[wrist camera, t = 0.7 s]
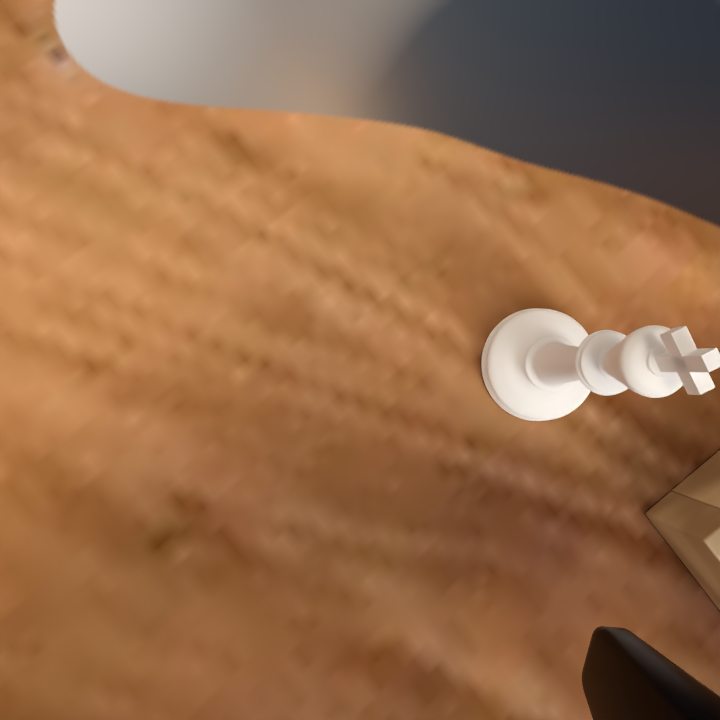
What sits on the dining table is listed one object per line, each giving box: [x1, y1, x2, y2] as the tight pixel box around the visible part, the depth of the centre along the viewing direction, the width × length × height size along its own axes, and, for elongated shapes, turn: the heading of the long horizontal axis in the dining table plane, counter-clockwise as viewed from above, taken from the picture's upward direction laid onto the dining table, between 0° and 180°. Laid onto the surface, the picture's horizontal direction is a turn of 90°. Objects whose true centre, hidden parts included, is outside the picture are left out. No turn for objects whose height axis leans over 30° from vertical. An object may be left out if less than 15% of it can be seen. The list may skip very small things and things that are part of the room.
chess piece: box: [481, 308, 720, 421], centre depth 16 cm, size 5×5×10 cm
